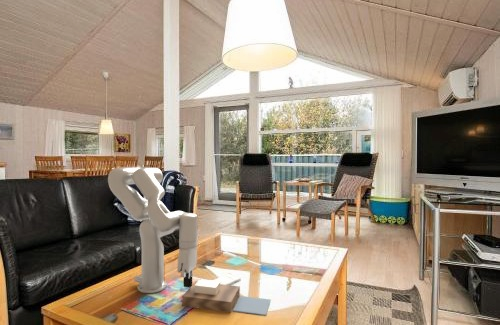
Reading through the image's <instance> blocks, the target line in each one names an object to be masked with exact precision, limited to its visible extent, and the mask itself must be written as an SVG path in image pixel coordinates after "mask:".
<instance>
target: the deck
mask: <svg viewBox="0 0 500 325" xmlns="http://www.w3.org/2000/svg"><path fill="white" fill-rule="evenodd" d="M197 282H198V281H195V282H194V283H192V286H191V287H190V288H189V287H188V290H186V292H185V293H184V294H182V301H181V302H182V305H181V306H182V307H186V306H189V307H188V308H195V309H200V310H201V309H203V310H210V311H215V312H216V311H217V312H225V313H232V312H233V309H234V307H235V305H236V303H237V301H238V299H239V297H240V296H241V293H240V292H241V287H240V286H239V285H233V284H231V285H223V284H220V290H219V291H218V292H217V294H216V295H211V294H203V293H195V284H196V283H197Z"/></svg>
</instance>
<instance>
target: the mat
mask: <svg viewBox="0 0 500 325" xmlns="http://www.w3.org/2000/svg"><path fill="white" fill-rule="evenodd" d="M270 303H271V299H269V298H268V299H267V298H260V297H253V296H244V295H240V296H239V298H238V300H237V302H236V303H235V305H234V307H233V309H232V312H237V313H244V314H251V315H258V316H265V317H266V316H267V313H268V310H269V306H270Z"/></svg>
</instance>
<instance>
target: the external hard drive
mask: <svg viewBox="0 0 500 325" xmlns="http://www.w3.org/2000/svg"><path fill="white" fill-rule="evenodd" d="M241 279H242V278H241V277H238V276H236V275H233V274H231V273H227V274H225V275H222V276H219V277H217V278H215V279H213V280H211V281H220V284H223V285H233V284H235V283H238V282H240V281H242V280H241Z"/></svg>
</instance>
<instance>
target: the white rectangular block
mask: <svg viewBox="0 0 500 325" xmlns="http://www.w3.org/2000/svg"><path fill="white" fill-rule="evenodd" d="M219 290H220V281H212V280H210V279H209V280H208V279H201V278H200V279H199V280H198V281H197V283H196V284H195V293H203V294H211V295H216V294H217V292H218V291H219Z"/></svg>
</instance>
